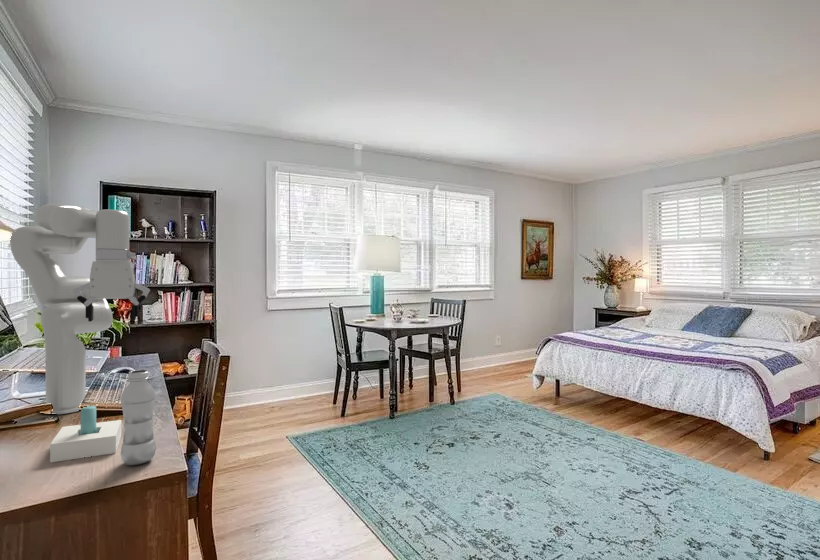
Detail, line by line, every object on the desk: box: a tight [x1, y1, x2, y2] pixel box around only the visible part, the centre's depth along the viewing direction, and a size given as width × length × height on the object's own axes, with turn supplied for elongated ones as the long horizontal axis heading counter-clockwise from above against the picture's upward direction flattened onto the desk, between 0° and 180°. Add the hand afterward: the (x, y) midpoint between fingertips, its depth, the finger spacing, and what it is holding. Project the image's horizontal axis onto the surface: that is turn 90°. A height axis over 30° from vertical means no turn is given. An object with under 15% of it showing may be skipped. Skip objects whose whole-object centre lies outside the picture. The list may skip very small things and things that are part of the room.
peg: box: [80, 405, 97, 435], centre depth 106 cm, size 3×3×10 cm
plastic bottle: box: [120, 369, 157, 466], centre depth 98 cm, size 6×7×20 cm
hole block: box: [49, 419, 123, 463], centre depth 106 cm, size 12×12×4 cm
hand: (112, 320), depth 121 cm, fingers open, 9 cm apart
